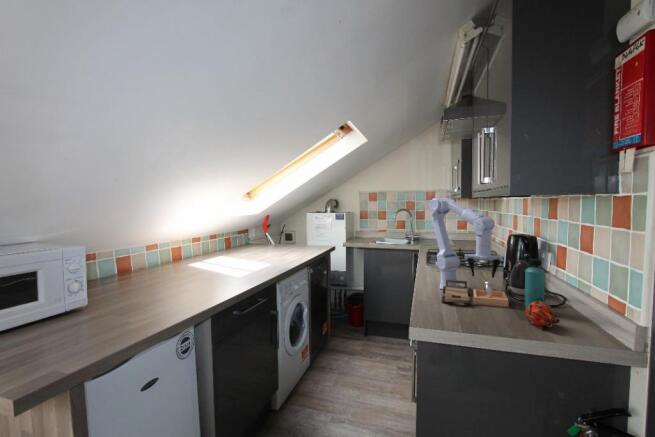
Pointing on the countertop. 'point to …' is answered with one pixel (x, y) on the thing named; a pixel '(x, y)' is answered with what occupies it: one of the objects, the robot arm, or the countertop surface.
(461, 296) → the trolley
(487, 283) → the pin
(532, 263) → the teal bottle
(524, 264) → the pump dispenser
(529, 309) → the dragon fruit
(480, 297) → the tray
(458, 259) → the robot arm
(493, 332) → the countertop surface
